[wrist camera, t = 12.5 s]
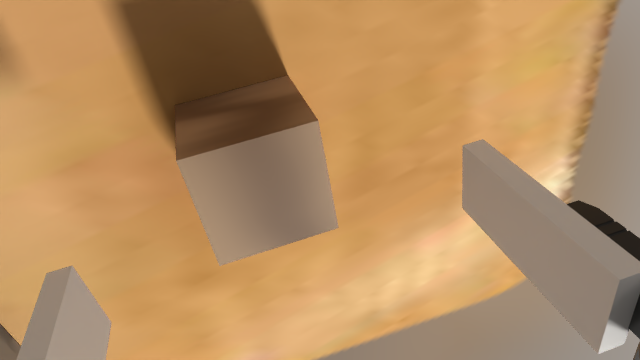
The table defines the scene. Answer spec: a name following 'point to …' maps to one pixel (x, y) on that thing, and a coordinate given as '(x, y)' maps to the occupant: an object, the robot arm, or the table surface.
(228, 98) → the walnut cube
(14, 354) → the tote
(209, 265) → the table surface
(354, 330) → the table surface
